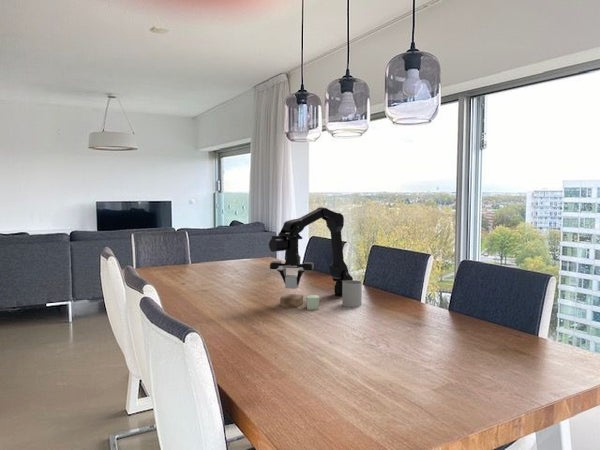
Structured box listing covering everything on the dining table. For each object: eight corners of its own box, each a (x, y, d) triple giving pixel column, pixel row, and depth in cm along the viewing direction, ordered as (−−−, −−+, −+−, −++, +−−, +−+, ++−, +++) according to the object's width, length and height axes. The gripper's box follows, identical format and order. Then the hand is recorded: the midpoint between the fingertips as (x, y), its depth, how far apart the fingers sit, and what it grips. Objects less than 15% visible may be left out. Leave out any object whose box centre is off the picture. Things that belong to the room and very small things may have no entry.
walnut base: (303, 303, 209) (303, 294, 209) (297, 308, 202) (297, 298, 201) (286, 302, 212) (286, 293, 211) (280, 306, 204) (280, 297, 204)
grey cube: (298, 286, 208) (298, 275, 208) (296, 288, 203) (296, 277, 203) (287, 285, 209) (287, 274, 208) (285, 288, 204) (285, 277, 204)
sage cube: (318, 306, 203) (318, 295, 203) (319, 309, 198) (319, 297, 198) (306, 306, 203) (306, 295, 203) (307, 309, 198) (307, 297, 198)
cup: (339, 305, 205) (339, 282, 204) (346, 301, 212) (346, 279, 211) (357, 307, 201) (357, 284, 200) (364, 303, 208) (364, 281, 207)
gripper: (315, 248, 211) (315, 282, 212) (275, 247, 214) (275, 280, 216) (311, 251, 200) (311, 287, 201) (269, 250, 203) (269, 285, 205)
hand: (292, 285), depth 206 cm, fingers closed on grey cube, 5 cm apart
